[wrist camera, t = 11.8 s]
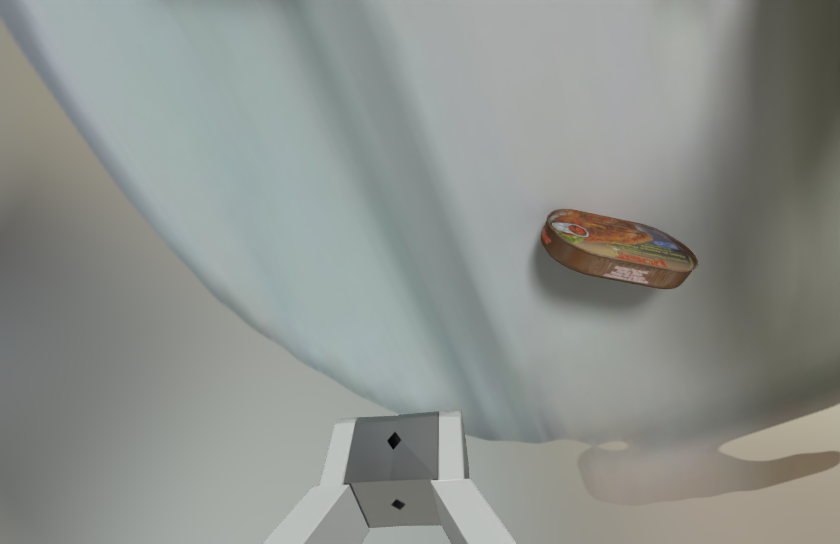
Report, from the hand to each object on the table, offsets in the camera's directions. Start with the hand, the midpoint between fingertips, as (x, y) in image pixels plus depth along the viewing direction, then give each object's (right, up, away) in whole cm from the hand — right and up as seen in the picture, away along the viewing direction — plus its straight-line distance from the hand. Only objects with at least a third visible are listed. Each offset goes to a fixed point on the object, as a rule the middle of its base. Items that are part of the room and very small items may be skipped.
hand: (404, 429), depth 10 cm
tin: (+20, +9, +34) cm, 40 cm away
